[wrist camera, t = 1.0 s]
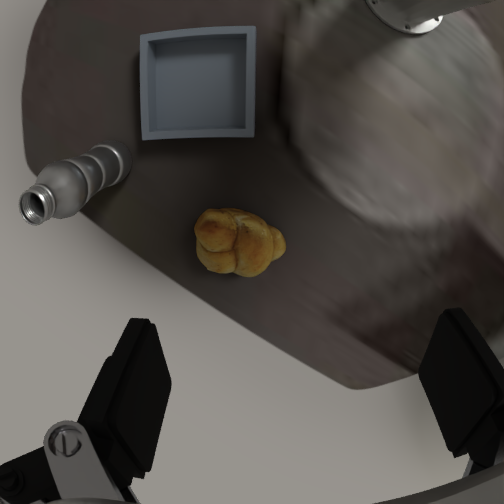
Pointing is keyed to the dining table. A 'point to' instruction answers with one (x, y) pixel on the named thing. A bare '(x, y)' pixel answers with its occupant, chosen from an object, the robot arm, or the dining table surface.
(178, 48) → the tray
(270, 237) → the bread roll
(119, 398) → the robot arm
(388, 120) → the dining table surface
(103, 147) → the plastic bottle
